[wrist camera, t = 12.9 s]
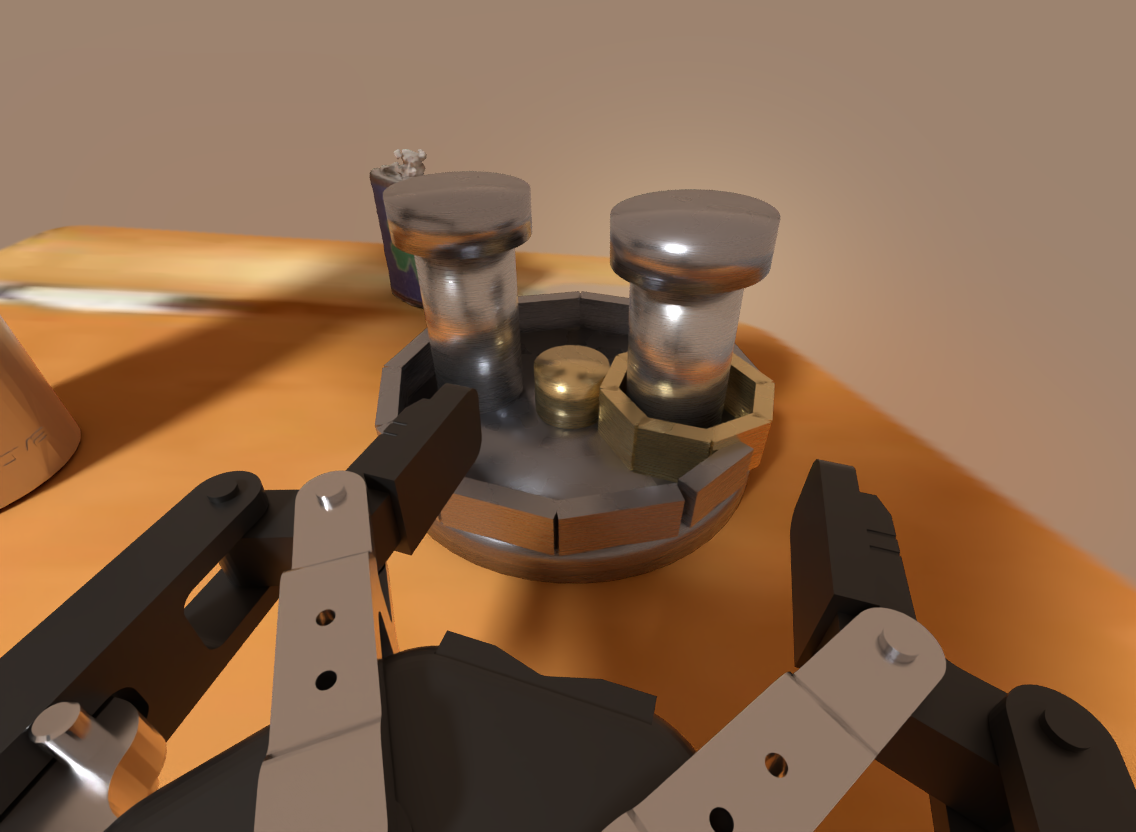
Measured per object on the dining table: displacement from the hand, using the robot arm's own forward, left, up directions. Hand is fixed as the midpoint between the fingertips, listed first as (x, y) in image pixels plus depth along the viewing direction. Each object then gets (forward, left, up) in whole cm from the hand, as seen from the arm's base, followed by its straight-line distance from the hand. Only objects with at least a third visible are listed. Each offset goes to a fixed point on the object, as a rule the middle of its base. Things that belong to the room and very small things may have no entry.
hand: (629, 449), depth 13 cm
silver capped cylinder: (0, +11, -8) cm, 13 cm away
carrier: (-5, +11, -10) cm, 15 cm away
